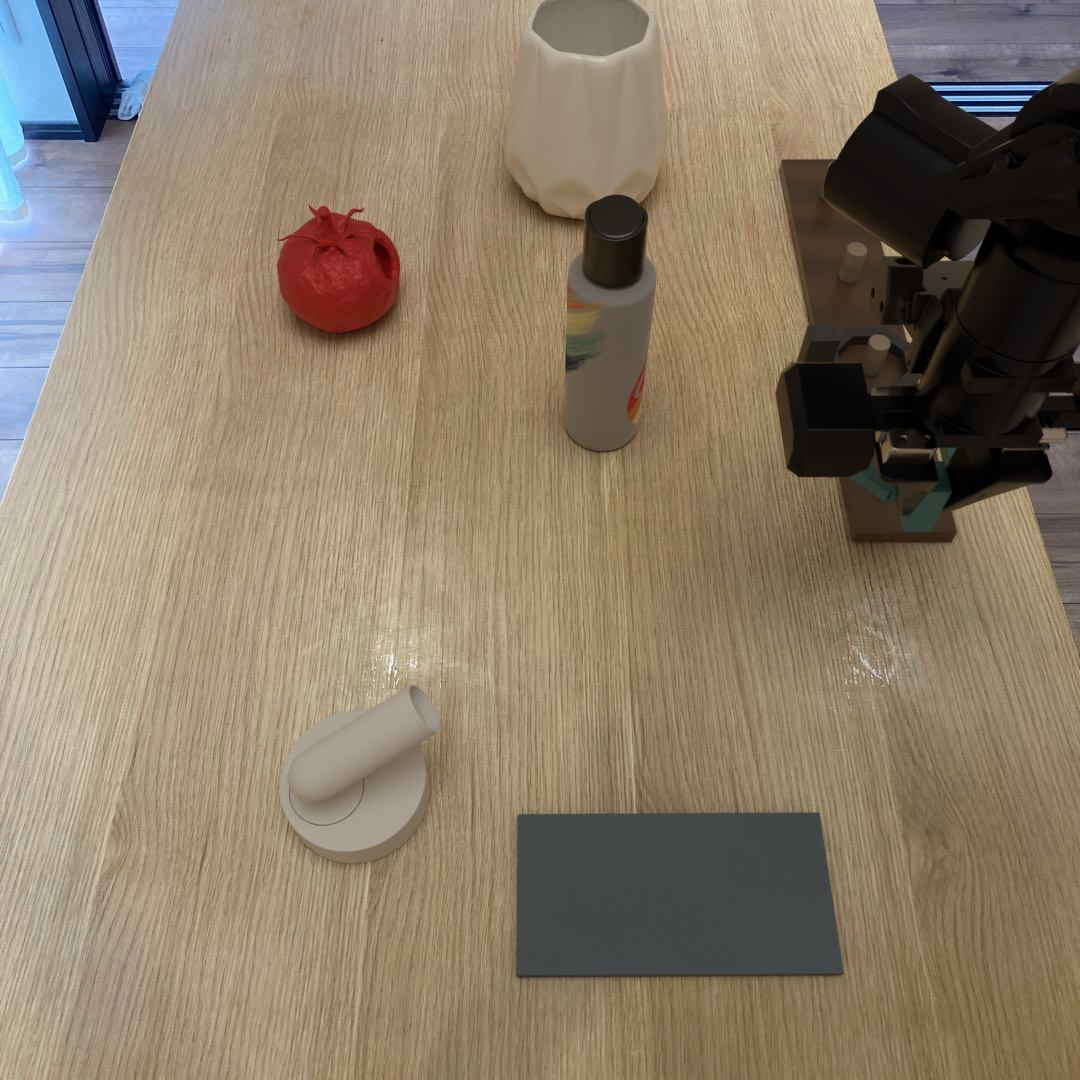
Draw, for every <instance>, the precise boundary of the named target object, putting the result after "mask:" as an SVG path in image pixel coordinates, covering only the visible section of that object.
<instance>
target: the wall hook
mask: <svg viewBox="0 0 1080 1080" xmlns="http://www.w3.org/2000/svg"><path fill="white" fill-rule="evenodd" d="M441 727H442V725H441V720H440V717H439V714H438V711H437V709H436V708H435V706H434V703H433V702H432V700H431V699H430V697H429V696H428V695H427V693H426V692H425V691H424V690H423V689H422V688H421V687H420V686H418V685H416V684H414V683H412V684H410V685H407V686H406V687H404V688H403V689H401V690H400V691H398V692H396V693H394V694H393V695H392V696H390V697H388V698H386V699H385V700H384V701H382V702H380V703H379V704H377V705H375V706H374V707H372V708H370V709H369V710H365V709H364V710H363V709H362V710H361V709H359V710H358V709H357V710H348V711H347V710H346V711H342V712H338V713H334V714H332V715H330V716H327V717H325V718H323V719H321V720H319V721H318V722H316V723H315V724H313V725H312V726H310V727H309V728H308V729H307V730H306V731H305V732H303V734H302V735H300V736H299V738H298V739H297V740H296V742H294V743H293V745H292V746H291V748H290V749H289V752H288V753H287V755H286V757H285V760H284V762H283V765H282V768H281V772H280V776H279V777H280V778H279V797H280V803H281V807H282V810H283V813H284V815H285V817H286V819H287V821H288V822H289V824H290V826H291V827H292V829H293V830H294V831H295V833H296V834H297V836H298V837H299V839H300V841H302V842H303V844H304V845H305V846H306V847H307V848H309V849H310V850H311V851H312V852H314V853H315V854H316V855H318V856H320V857H322V858H324V859H325V860H329V861H332V862H336V863H341V864H350V865H351V864H352V865H353V864H354V865H355V864H364V863H370V862H373V861H377V860H380V859H382V858H384V857H386V856H389V855H390V854H392V853H393V852H395V851H397V850H398V849H400V848H401V847H402V846H403V845H404V844H405V843H407V842H408V841H409V840H410V838H411V837H412V836H413V835H414V834H415V832H416V831H417V830H418V829H419V827H420V825H421V823H422V822H423V819H424V818H425V815H426V812H427V811H428V806H429V803H430V796H431V780H430V775H429V770H428V767H427V763H426V759H425V756H424V753H423V750H422V748H421V746H420V744H422V743H423V742H425V741H428V739H430V738H432V737H433V736H435V735H436V734H438V733H440V732H441Z"/></svg>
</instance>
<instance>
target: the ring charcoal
mask: <svg viewBox="0 0 1080 1080" xmlns="http://www.w3.org/2000/svg"><path fill="white" fill-rule="evenodd" d="M877 334H879V335H884V336H886V337H887V338H888V339H889V340H890V343H891V345H890V348H889V350H888V352H890V353H892V354H893V355H895V356H896V357H898V358H900V362H901V366H902V370H903V374H904V375H903V376H902V377H901V378H900V379H899V380H898V381H897V382H896V383H895V384H894V385H893V386H916V385H917V384H919V381H920V377H919V374H910V373H909V370H908V366H907V362H906V358H905V355H906V353H907V351H908V348H909V346H910V344H911V342H909V341H908V340H907V341H906V340H904V339H903V338H901V337H899V336H898V335H896V334H895V333H893V332H891V331H890V330H888V329H886V328H885V327H884V328H883V329H882V327H848V328H845V329H843V330H842V331H841V332H840V333H838V328H837V325H810V324H809V325H807V326H806V330H805V332H804V336H803V339H802V342H801V346H800V350H799V352H798V356H797V359H796V362H840V361H839V356H838V355H839V354H840V353H842V352H843V351H844V350H845V349H846V348H847V347H848V346H849V345H850V344H868V341H869V339H870V337H872V336H873V335H877ZM874 387H875V386H867V391H868V394H869V393H871V392H872V389H873V388H874Z"/></svg>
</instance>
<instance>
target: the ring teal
mask: <svg viewBox="0 0 1080 1080" xmlns="http://www.w3.org/2000/svg"><path fill="white" fill-rule="evenodd" d="M955 449H956V448H938V450H939V453H940V457H941V460H938V461H934V462H935V466H936V470H937V474H938V478H939V482H938V483H937V484H936V485H935V487H934V488H933V489H932V490H931V491H930V492H929V493H928V494H927V496H926V497H925V498H924V499H923V500H922V501H921V503H920V504H919V505H918V506H917V507H916V508H915V509H914V510H913V511H912V512H910V513H909V514H908V515H906V516H900V517H901V522H902V526H903V531H931V529H932V527H933V525H934V524H935V522H936V520H937V518H938V517H939V515H940V513H941V511H942V509H943V508H944V506H945V504H946V502H947V501H948V499H949V497H950V495H951V494H952V489H951V485H950V481H949V477H948V474H947V470H946V465H947V464H948V462H949V460H950V458H951V456H952V455H953V453H954V451H955ZM849 478H851V479H852V480H854V481H855V482H857V483H858V484H859V485H861V486H862V487H864V488H865V489H867V490H868V491H869V492H871V493H872V494H874V495H875V496H877V497H878V498H879V499H881V500H882V501H884V502H885V501H886V500H888V503H896V492H895V484H887V483H885V482H883V481H882V480H881V479H880V478H879V476H878V473H877V468H875V467H874V466H872V465H871V464H870V466H869V468H868V469H866V470H864V471H862V472H860V473H858V474H855V475H853V476H851V477H849Z"/></svg>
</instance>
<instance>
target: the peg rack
mask: <svg viewBox="0 0 1080 1080" xmlns="http://www.w3.org/2000/svg"><path fill="white" fill-rule="evenodd" d="M835 160H837V158H798V159H797V158H795V159H791V158H790V159H789V158H788V159H787V158H785V159H783V158H782V159H781V161H780V165H779V175H780V180H781V185H782V192H783V196H784V200H785V206H786V211H787V216H788V221H789V225H790V231H791V232H790V233H791V237H792V241H793V247H794V251H795V257H796V261H797V267H798V272H799V277H800V281H801V287H802V292H803V298H804V302H805V307H806V312H807V317H808V323H809V325H837V328H838V333H840V332H841V331H842V330H843V329H845V328H848V327H882V329H883V328H884V327H885V328H886V329H888V330H890V331H891V332H893V333H895V334H896V335H898V336H899V337H901V338H903V339H904V340H906V341H908V339H907V335H906V330H905V327H904V325H880V324H879V323H878V322H877V320H876V318H875V317H874V315H873V313H872V311H871V310H870V307H869V296H870V291H871V286H872V281H873V278H874V275H875V273H876V270H877V268H878V266H879V263H880V261H881V259H882V257H883V256H886V255H885V252H884V248H883V244H882V241H880V240H879V239H877V238H876V237H875V236H873V235H872V234H870V233H869V232H867V231H866V230H864V229H863V228H862V227H860V226H859V225H857V224H856V223H854V222H853V221H851V220H850V219H849V218H847V217H846V216H844V215H843V214H841V213H840V212H838V211H837V210H836V209H834V208H833V207H831V206H830V205H828V204H827V202H826V200H825V199H824V190H823V189H824V183H825V177H826V174H827V171H828V168H829V166H830V165H831V163H832V162H834V161H835ZM890 345H891V343H890V340H889V339H888V338H887V337H886V336H884V335H879V334H877V335H873V336H872V337H870V339H869V341H868V344H850V345H849V346H848V347H847V348H846V349H845V350H844V351H843V352H842V353H840V354H839V355H838V356H839V361H840V362H857V363H862V367H863V372H864V377H865V381H866V386H893V385H894V384H895V383H896V382H897V381H898V380H899V379H900V378H901V377H902V376H903V375H904V374H903V370H902V366H901V362H900V358H898V357H896V356H895V355H893V354H892V353H890V352H888V350H889V348H890ZM918 384H919V383H918ZM918 384H917V385H916V386H918ZM933 457H934V461H939V458H938V454H937V450H936V451H935V453H934V454H933ZM871 465H872V466H874V467H875V468H876V463H875V458H874V457H873V459H872V461H871ZM839 480H840V485H841V491H842V495H843V500H844V507H845V510H846V515H847V520H848V525H849V530H850V535H851V541H852V543H920V542H921V543H926V542H927V543H929V542H931V543H932V542H933V543H934V542H935V543H938V542H939V543H941V542H945V543H947V542H953V541H954V539H955V537H957V534H958V529H957V526H956V521H955V518H954V515H953V511H952V512H949V513H946V514H944V515H941V516H939V517H938V518H937V520H936V522H935V524H934V525H933V527H932V529H931V531H903V526H902V522H901V517H900V516H899V513H898V508H897V504H896V503H888V500H886V501H885V502H884V501H882V500H881V499H879V498H878V497H877V496H875V495H874V494H872V493H871V492H869V491H868V490H867V489H865V488H864V487H862V486H861V485H859V484H858V483H857V482H855V481H854V480H852V479H851V478H849V477H839Z"/></svg>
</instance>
